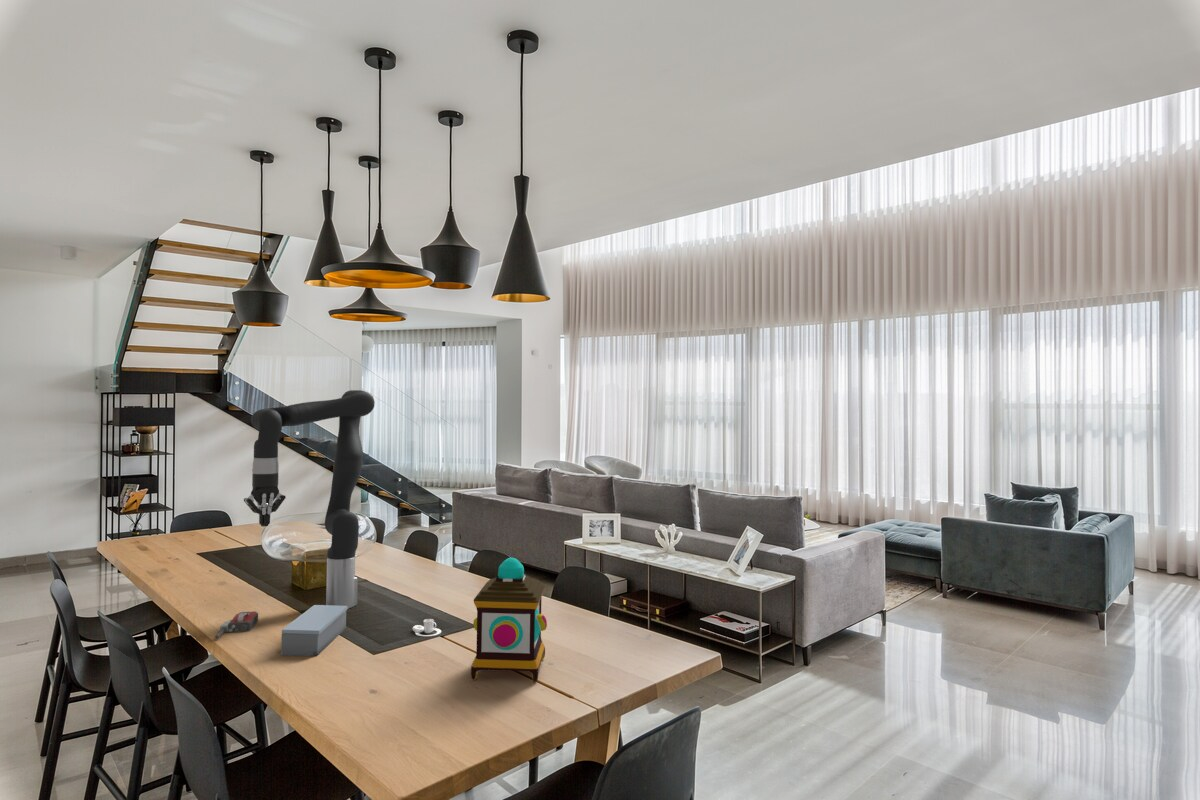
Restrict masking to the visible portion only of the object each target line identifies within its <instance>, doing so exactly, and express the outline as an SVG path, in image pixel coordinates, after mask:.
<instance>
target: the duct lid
mask: <svg viewBox="0 0 1200 800" xmlns="http://www.w3.org/2000/svg"><path fill="white" fill-rule="evenodd" d="M348 609H349V608H348V606H335V605H326V604H325V605H324V604H313V605H312V606H311V607H310V608H308V609H307V610H305V612H303V613H302V614H300V615H299V616H298V617H296V618H295V619H294V620H293V621H291V622H290V623H288V624H287V625H286V626H285V627H283V628H282V629H281V634H282V633H289V634H320V633H321V632H322V631H324V630H325V629H326V628H327V627H328V626H329V625H330V624H331V623H332V622H334V621H335V620H336V619H337V618H338V617H339V616H340V615H341V614H343V613H344V612H345V611H346V612H347V610H348Z"/></svg>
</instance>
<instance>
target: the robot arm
mask: <svg viewBox="0 0 1200 800" xmlns="http://www.w3.org/2000/svg"><path fill="white" fill-rule="evenodd" d="M375 402H376V401H375V399H374V397H373V395H372V394H371V393H370V392H367V391H366V390H362V389H361V390H360V389H359V390H357V389H355V390H354V389H351V390H347V391H346V392H344V393H343V394H342V396H341V397H339V398H334V399H329V400H328V399H326V400H316V401H315V400H314V401H305V402H300V403H295V404H289V405H285V406H276V407H269V408H268V407H267V408H263V409H258V410H256V411H255V412H254V413H252V415H251V418H250V422H251V426H252V427H253V428H254V429H256V430H257V431H258V435H257V439H256V440H255V441H254V443H253V462H252V469H251V470H252V471H251V473H252V474H251V475H252V478H251V479H252V481H251V482H252V483H251V484H252V485H251V486H252V489H251V492H250V495H248V496H247V497H244V498H243V502H244V503H245V504H246V506H248V508H249V509H250V510H251V511H252V512H253V513H254V514H258V523H259V525H260V527H268V526H269V525H270V524H271V513H274V512H277V510H278V509H279V508H280V506H281V505H282V503H283V502H284V501H285V500H286V498H287V497H286V495H284V494H282V493H281V492H280V490H279V470H280V469H279V468H280V467H279V441H280V437H281V433H282V427H283V428H284V427H297V426H300V425H301V426H302V425H305V424H306V425H307V424H312V423H315V422H321V421H324V420H329V419H335V418H339V419H338V420H339V421H338V432H337V433H338V435H337V441H336V449H335V454H334V461H333V470H332V471H333V472H332V478H331V479H332V480H331V487H330V496H329V501H328V504H327V505H328V506H327V509H326V513H325V517H324V528H325V530H326V531H327V533H328V534H329V535H331V544H330V547H329V548H328V549H327V551H326V588H325V589H326V592H325V594H326V595H325V597H326V598H325V599H326V601H325V605H335V606H348V609H351V608H353V607H355V606H358V577H356V553H357V552H356V551H357V549H358V546H359V533H360V523H359V522H360V521H359V519H358V517H357V515H356V514H355V513H354V512H351V511H350V509H351V500H352V494H353V492H354V489H355V487H356V486H357V483H358V482H359V480H360V476H361V473H362V467H363V459H364V452H363V451H364V449H363V445H362V441H361V436H360V423H361V417H365V416H368V415H369V414H370V413H371V412H373V410H374V408H375V404H376V403H375ZM254 502H256V504H255V503H254Z"/></svg>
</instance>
